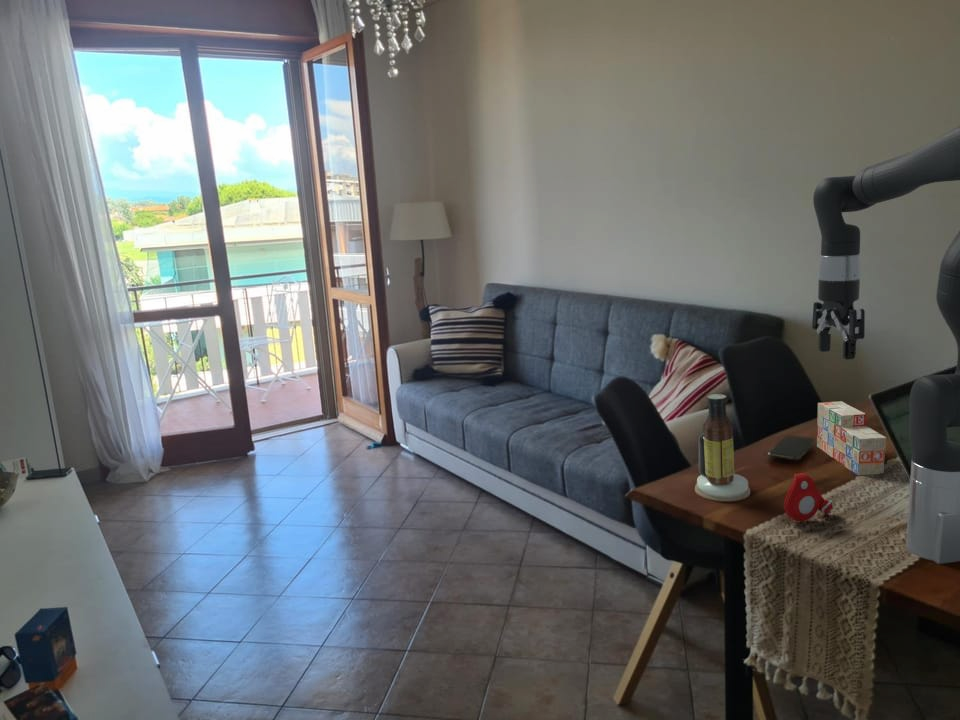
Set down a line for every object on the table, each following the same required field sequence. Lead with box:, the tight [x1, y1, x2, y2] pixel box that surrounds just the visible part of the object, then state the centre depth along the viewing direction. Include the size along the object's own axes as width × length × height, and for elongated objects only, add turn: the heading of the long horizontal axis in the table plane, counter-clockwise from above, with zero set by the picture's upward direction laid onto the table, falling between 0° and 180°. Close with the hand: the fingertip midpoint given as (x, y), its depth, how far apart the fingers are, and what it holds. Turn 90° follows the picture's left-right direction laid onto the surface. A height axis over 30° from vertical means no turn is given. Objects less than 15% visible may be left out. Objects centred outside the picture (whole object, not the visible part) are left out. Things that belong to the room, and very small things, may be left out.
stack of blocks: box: [816, 400, 887, 476], centre depth 175 cm, size 21×6×12 cm, turn 179°
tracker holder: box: [783, 472, 834, 522], centre depth 145 cm, size 12×4×10 cm, turn 105°
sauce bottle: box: [703, 393, 735, 484], centre depth 159 cm, size 7×6×20 cm
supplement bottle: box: [698, 423, 706, 476], centre depth 166 cm, size 7×7×12 cm
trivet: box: [694, 473, 751, 503], centre depth 162 cm, size 12×12×2 cm
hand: (836, 354), depth 148 cm, fingers open, 8 cm apart
